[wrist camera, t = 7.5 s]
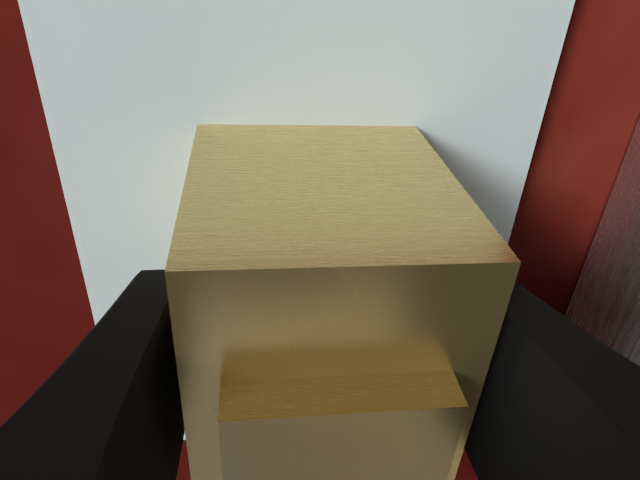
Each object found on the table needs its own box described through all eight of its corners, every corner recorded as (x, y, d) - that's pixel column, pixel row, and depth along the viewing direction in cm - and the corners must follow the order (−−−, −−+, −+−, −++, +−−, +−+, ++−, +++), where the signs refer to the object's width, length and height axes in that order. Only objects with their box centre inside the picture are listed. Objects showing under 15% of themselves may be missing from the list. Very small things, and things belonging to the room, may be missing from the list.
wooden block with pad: (384, 328, 12) (457, 548, 8) (212, 336, 12) (194, 574, 8) (415, 125, 10) (545, 294, 6) (197, 124, 9) (155, 307, 5)
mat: (451, 403, 15) (458, 420, 15) (127, 424, 14) (123, 444, 14) (578, -86, 9) (598, -85, 8) (6, -117, 8) (-11, -119, 7)
